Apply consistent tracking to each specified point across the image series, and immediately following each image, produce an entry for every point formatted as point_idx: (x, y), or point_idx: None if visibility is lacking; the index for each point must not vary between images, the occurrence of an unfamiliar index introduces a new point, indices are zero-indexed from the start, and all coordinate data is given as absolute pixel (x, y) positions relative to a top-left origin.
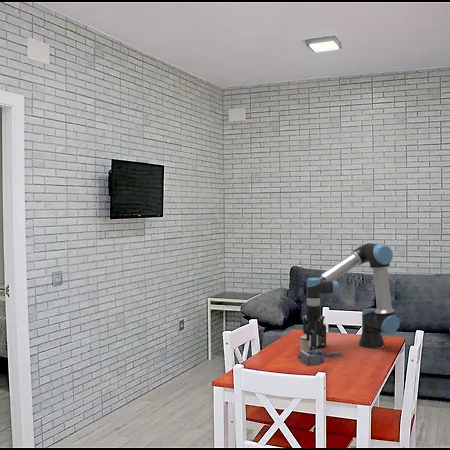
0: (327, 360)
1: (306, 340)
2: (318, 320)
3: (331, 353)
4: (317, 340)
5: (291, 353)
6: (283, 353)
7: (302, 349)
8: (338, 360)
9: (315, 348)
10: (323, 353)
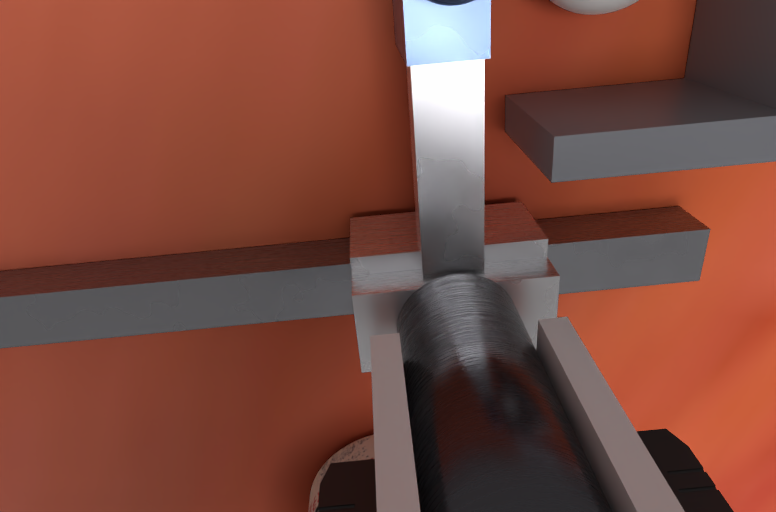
0: (248, 44)
1: None
2: None
3: (110, 287)
4: (390, 434)
5: None
6: None
7: None
8: (34, 10)
9: (428, 299)
10: (251, 301)
